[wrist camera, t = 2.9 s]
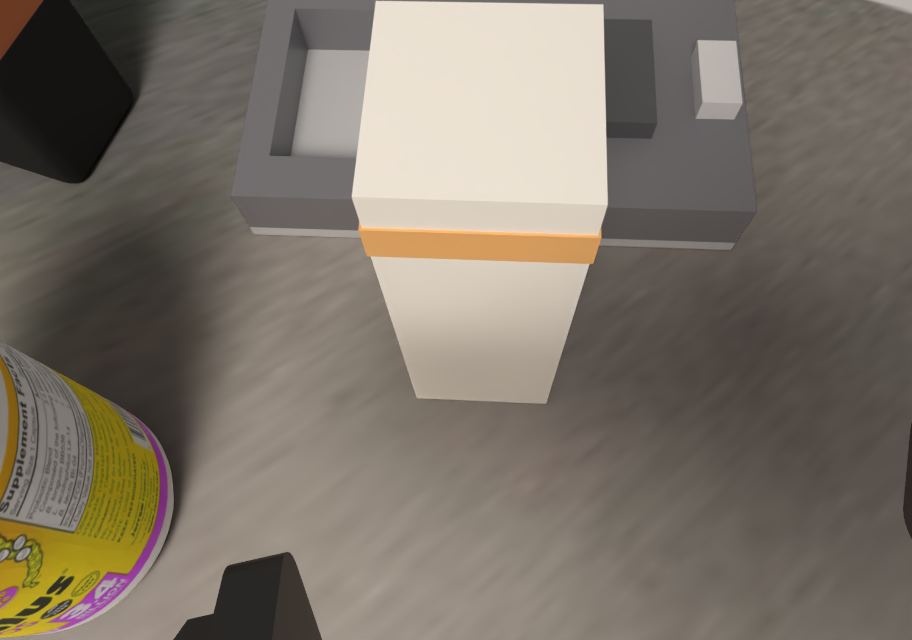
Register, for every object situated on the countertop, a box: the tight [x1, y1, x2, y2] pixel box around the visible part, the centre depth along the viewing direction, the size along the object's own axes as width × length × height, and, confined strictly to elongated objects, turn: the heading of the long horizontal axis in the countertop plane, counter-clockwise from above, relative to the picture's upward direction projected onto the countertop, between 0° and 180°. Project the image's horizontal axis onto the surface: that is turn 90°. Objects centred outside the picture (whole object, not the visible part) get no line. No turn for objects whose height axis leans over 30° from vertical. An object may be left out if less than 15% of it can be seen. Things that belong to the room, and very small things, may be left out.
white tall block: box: [352, 1, 608, 404], centre depth 18 cm, size 4×4×12 cm
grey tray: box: [231, 0, 757, 250], centre depth 25 cm, size 16×9×3 cm, turn 87°
